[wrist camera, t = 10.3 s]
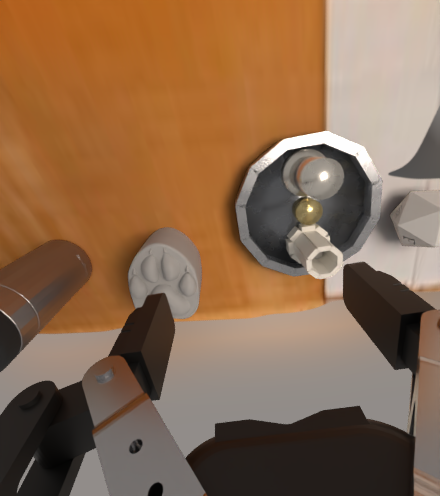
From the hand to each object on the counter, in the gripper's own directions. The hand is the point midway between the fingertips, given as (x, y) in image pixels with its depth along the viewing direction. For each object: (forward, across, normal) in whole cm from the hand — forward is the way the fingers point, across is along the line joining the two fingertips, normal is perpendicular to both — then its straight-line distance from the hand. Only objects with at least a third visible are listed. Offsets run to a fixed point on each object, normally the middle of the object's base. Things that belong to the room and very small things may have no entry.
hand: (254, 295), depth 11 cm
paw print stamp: (+30, +12, +11) cm, 34 cm away
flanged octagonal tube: (+29, -11, +10) cm, 33 cm away
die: (+30, -28, +9) cm, 42 cm away
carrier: (+30, -11, +5) cm, 32 cm away
